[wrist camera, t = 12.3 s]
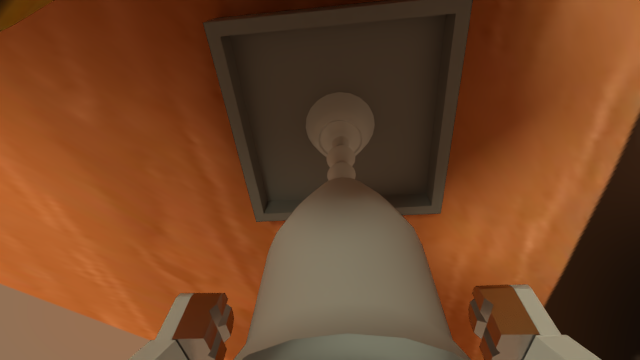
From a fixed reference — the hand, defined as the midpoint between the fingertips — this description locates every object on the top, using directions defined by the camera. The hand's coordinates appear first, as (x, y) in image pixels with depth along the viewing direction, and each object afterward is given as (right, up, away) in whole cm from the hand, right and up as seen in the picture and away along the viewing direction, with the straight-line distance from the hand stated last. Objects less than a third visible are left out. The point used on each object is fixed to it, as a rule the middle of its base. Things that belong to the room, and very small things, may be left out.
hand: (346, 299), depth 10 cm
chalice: (+1, +8, +13) cm, 15 cm away
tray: (+1, +9, +13) cm, 16 cm away
